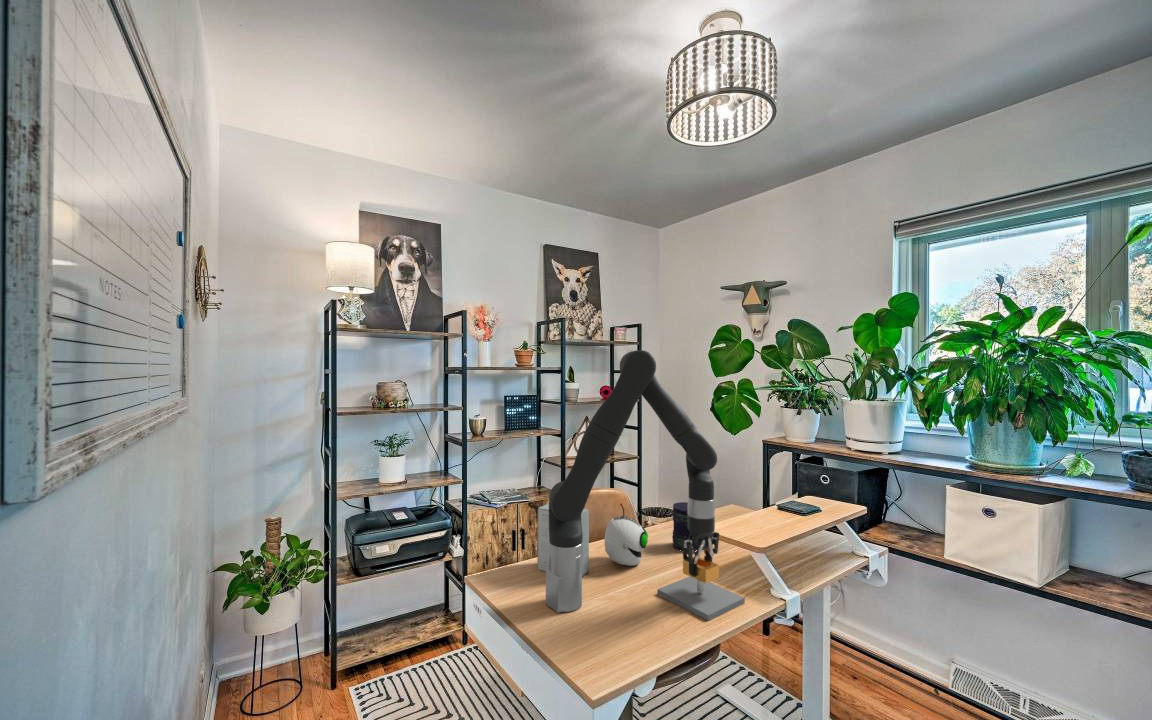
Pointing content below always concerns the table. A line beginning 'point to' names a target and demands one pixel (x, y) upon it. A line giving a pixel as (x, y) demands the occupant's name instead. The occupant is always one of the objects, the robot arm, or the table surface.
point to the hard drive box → (544, 539)
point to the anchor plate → (701, 597)
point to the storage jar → (680, 524)
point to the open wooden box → (703, 570)
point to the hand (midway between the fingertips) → (700, 572)
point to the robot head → (625, 540)
